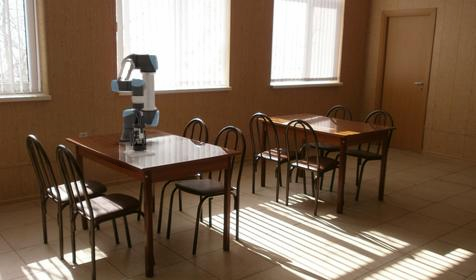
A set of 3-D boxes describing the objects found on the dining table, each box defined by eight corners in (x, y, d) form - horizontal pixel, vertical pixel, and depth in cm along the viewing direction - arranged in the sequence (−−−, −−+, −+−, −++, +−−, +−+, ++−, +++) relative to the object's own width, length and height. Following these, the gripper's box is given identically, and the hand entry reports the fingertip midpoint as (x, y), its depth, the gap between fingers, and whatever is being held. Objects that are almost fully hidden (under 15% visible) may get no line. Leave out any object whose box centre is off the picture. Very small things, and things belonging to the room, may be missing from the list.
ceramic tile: (123, 153, 308) (123, 150, 307) (146, 150, 316) (146, 148, 316) (130, 157, 296) (130, 155, 296) (154, 154, 304) (154, 152, 304)
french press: (143, 147, 313) (142, 113, 308) (150, 149, 306) (150, 114, 301) (127, 149, 305) (126, 114, 301) (134, 152, 298) (133, 116, 294)
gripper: (126, 101, 307) (127, 134, 311) (138, 104, 289) (139, 140, 293) (137, 100, 310) (138, 133, 315) (149, 104, 293) (150, 139, 297)
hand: (138, 137), depth 304 cm, fingers closed on french press, 9 cm apart
